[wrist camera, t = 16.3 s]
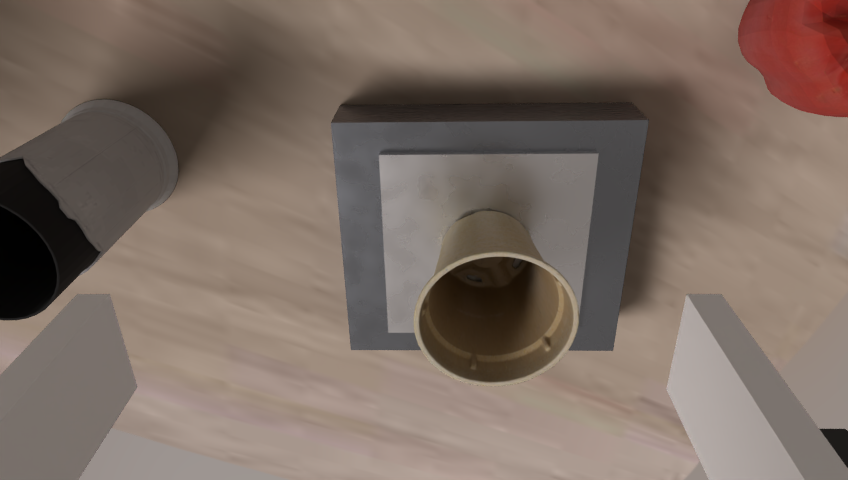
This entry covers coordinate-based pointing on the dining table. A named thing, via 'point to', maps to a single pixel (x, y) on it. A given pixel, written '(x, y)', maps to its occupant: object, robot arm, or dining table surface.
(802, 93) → the vegetable
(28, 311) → the grey pitcher
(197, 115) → the dining table surface
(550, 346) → the flower pot
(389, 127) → the gray square platform
